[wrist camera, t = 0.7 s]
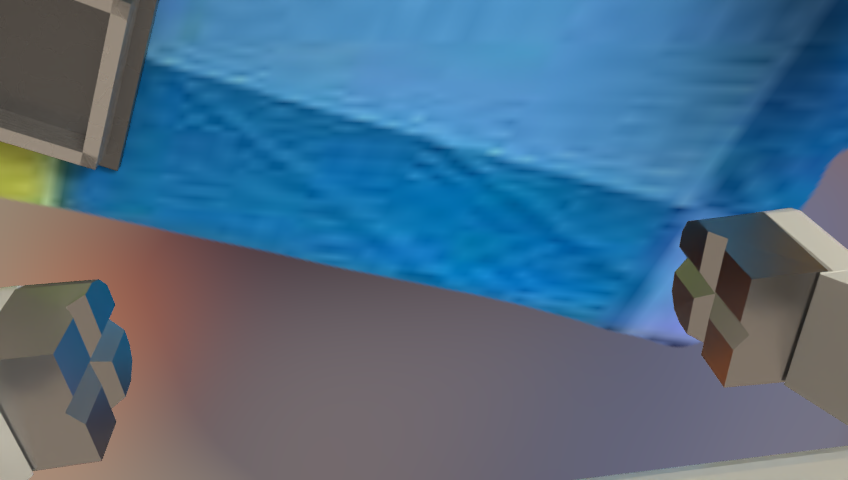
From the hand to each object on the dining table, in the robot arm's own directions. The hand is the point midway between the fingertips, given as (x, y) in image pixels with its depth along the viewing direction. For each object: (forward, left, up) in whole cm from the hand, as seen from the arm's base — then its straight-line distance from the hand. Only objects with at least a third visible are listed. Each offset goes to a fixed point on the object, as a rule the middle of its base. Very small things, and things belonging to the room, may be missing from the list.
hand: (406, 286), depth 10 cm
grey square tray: (+15, -17, -40) cm, 46 cm away
